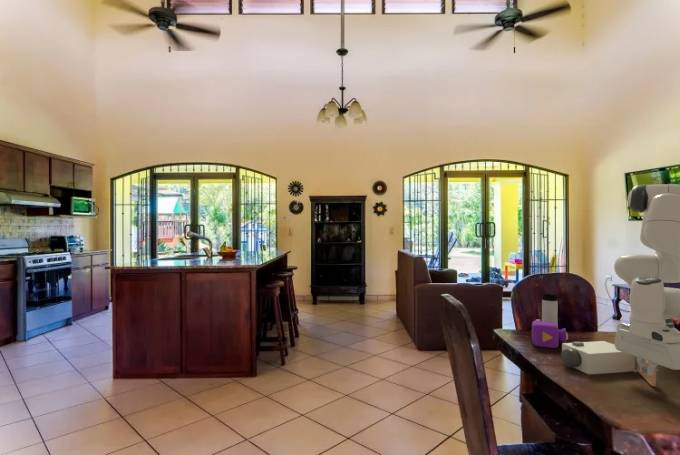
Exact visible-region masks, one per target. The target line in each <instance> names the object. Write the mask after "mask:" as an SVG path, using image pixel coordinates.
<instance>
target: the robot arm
mask: <svg viewBox="0 0 680 455" xmlns="http://www.w3.org/2000/svg"><path fill="white" fill-rule="evenodd" d="M627 204H628V206H629V208H630V209H631V210H632V211H633V212H635V213H636V212H637V213H640V214H642V213H643V216H642V217H643V218H642V222H641V229H640V236H639V240H640V242H641V243H642V245H643V246H645V247H647V248H648V249H651V250H653V251H655V252H654V254H625V255H621V256H619V257H618V258H617V259H616V260H615V261H614V264H613V265H614V266H613V268H614V272H615V274H616V275H617V276H618V278H619V279H620V280H622V281H624V282H625V283H626V284H627V285H628V286H629V287H630V293H629V307H630V315H629V324H627V323H624V322H620V323H619V324H617V326H616V331H615V337H614V343H613V344H614V345H615V348H616V349H617V350H619V351H622V352H624V353H627V354H630V355H633V356H636V357H637V362H638V364H639V366H640V372H642V373H645V374H647V375H653V374H654V369H655V368H656V369H657V366H658V365H659V366H661V367H665V368H667V369H670V370H673V371H674V370H675V371H677V370H678V371H679V370H680V331H679V330H678V329H677V328H675V324H676V325H679V324H680V288H678V287H677V288H676V287H668V286H667V287H666V286H664V285H665V284H664V283H668V284H669V283H670V284H673V283H674V284H675V283H677V284H678V283H680V184H679V183H677V184H674V183H667V184H664V183H663V184H660V183H658V184H655V183H654V184H645V183H644V184H638V185H635V186H633V187H632V189H631V190H630V191H629V193H628V196H627ZM646 360H647V361H648V364H649V366H648V367H647V366H646V363H645V361H646Z"/></svg>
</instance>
